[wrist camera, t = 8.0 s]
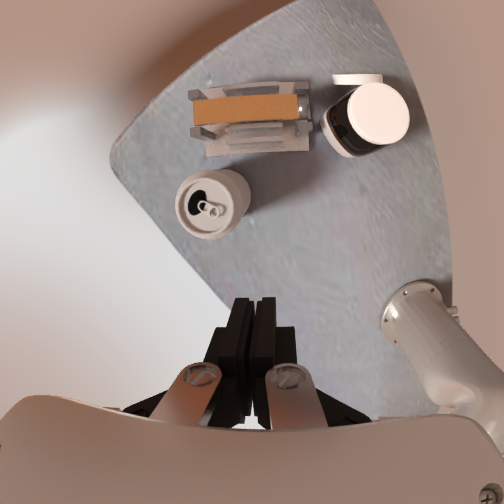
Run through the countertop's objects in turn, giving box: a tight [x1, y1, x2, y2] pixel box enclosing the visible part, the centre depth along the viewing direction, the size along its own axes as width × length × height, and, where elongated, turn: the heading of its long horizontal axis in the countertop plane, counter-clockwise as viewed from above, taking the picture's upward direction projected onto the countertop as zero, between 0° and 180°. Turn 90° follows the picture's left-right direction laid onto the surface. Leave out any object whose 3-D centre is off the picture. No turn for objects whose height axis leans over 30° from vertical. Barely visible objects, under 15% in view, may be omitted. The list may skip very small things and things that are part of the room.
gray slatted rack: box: [188, 81, 313, 157], centre depth 31 cm, size 14×10×8 cm
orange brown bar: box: [193, 93, 311, 126], centre depth 29 cm, size 13×3×2 cm, turn 94°
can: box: [175, 169, 251, 239], centre depth 33 cm, size 8×8×12 cm
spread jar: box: [320, 74, 410, 158], centre depth 28 cm, size 12×11×12 cm
